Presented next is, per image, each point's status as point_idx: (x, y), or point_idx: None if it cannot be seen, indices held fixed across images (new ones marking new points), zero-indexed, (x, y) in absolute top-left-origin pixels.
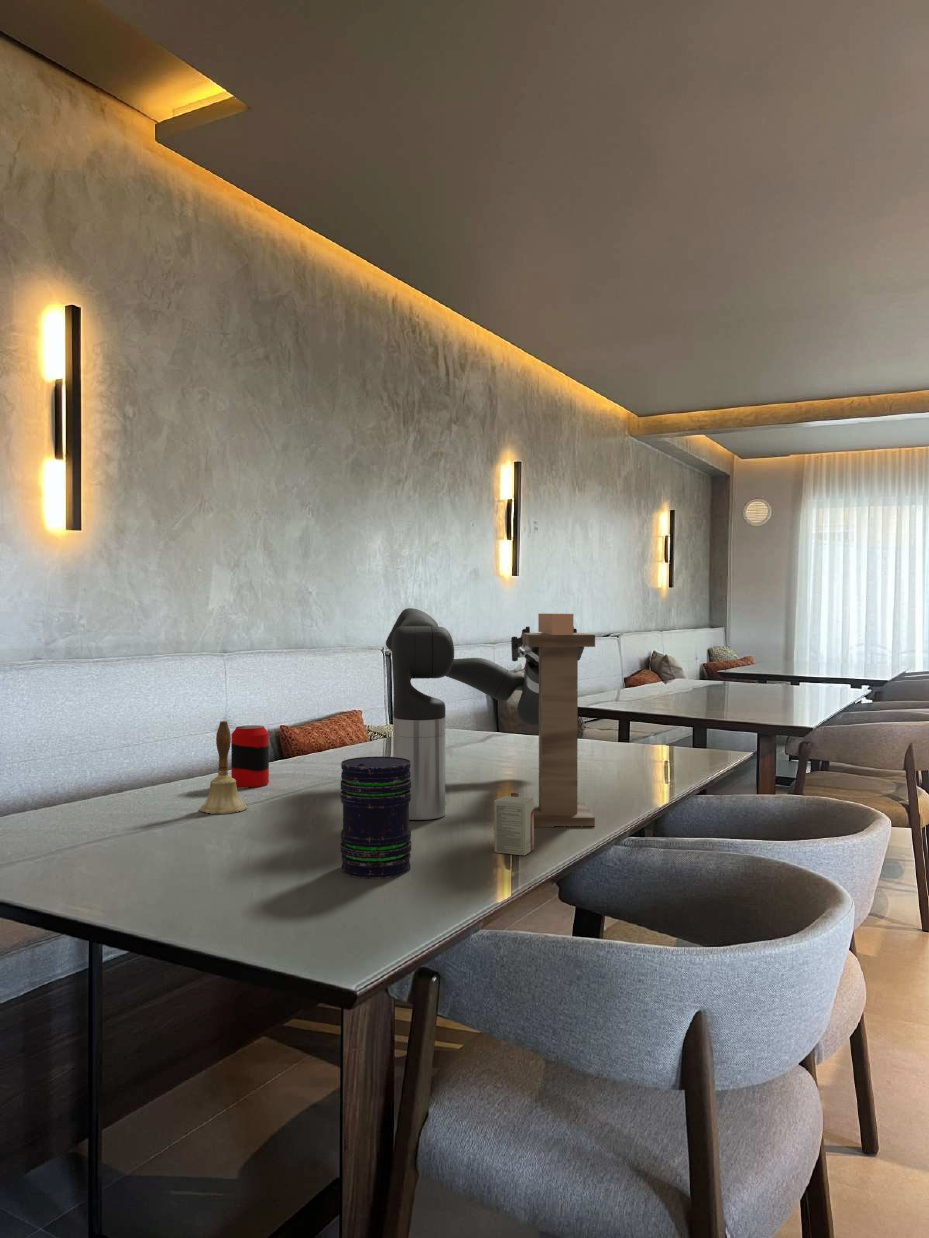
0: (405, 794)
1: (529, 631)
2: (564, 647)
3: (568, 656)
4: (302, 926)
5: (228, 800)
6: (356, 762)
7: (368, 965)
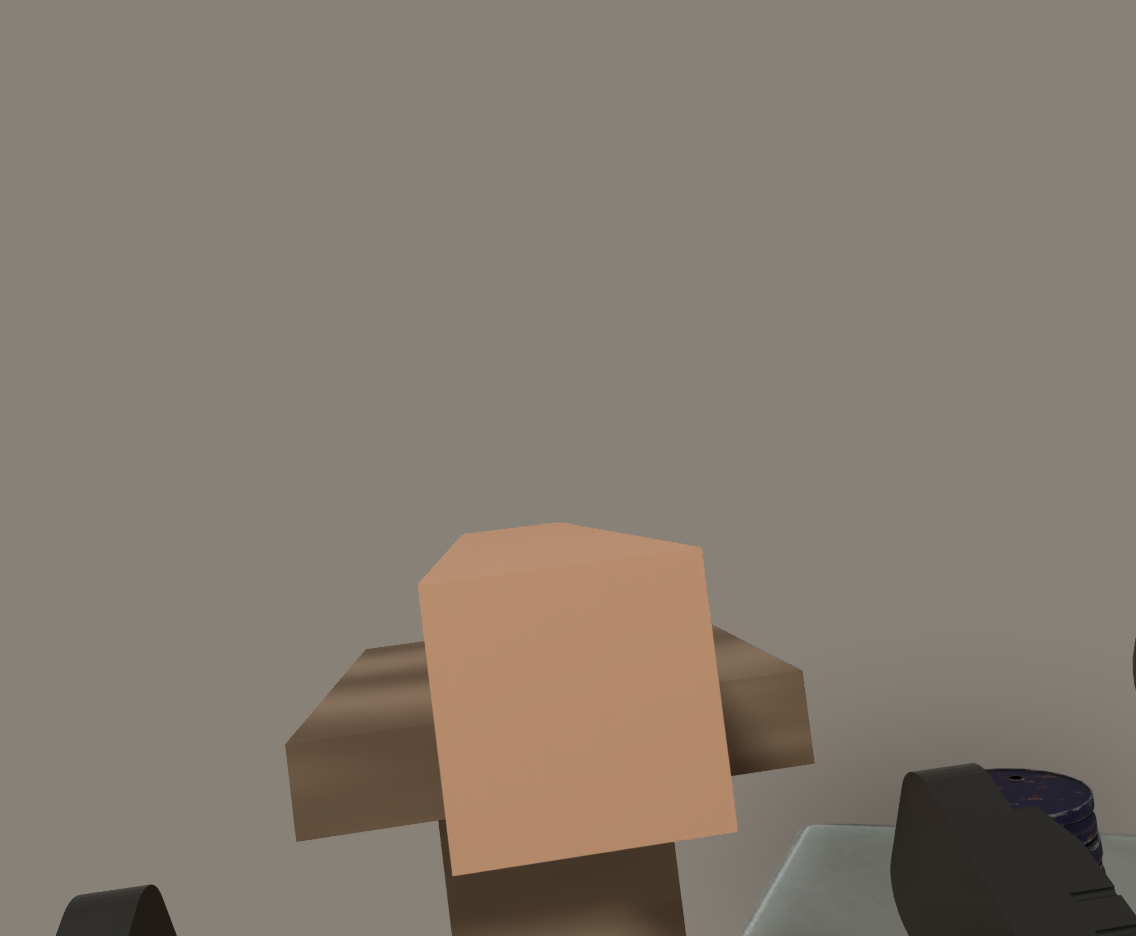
0: None
1: (899, 836)
2: None
3: None
4: None
5: None
6: (1051, 789)
7: (816, 844)
